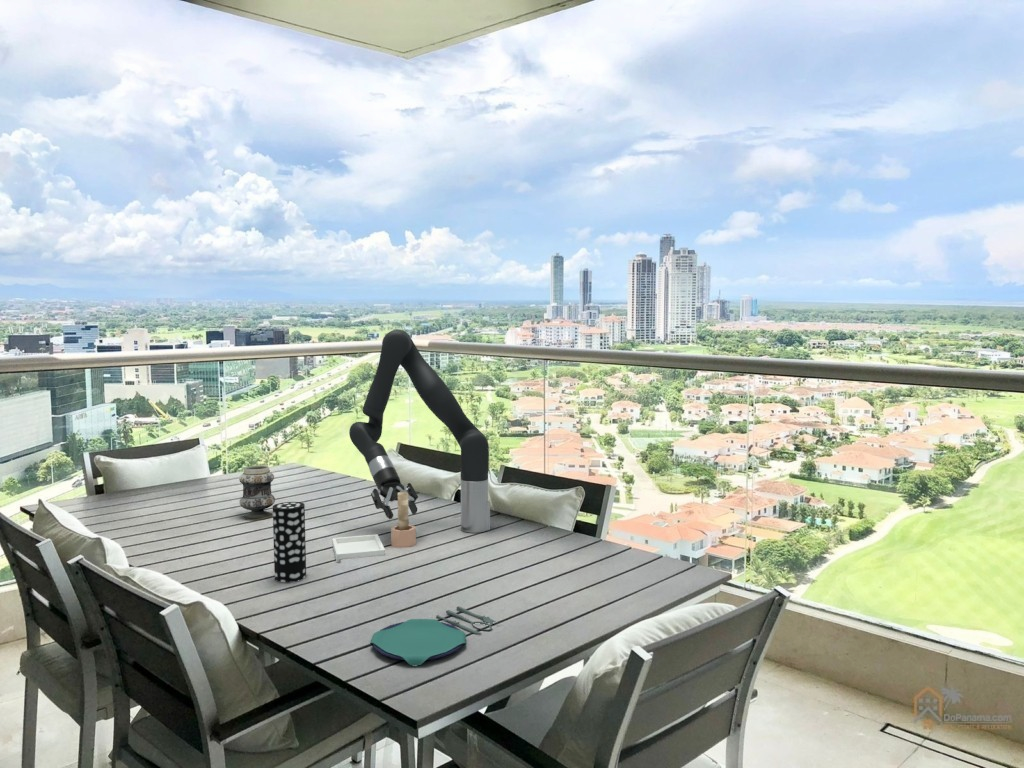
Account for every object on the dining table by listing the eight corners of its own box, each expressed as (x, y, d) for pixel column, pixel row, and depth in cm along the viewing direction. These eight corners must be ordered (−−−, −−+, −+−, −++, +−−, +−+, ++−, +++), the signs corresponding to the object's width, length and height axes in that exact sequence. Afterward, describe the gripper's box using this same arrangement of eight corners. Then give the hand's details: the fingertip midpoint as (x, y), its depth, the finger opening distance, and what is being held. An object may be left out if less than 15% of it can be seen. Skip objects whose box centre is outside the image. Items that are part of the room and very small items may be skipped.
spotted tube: (297, 583, 197) (295, 510, 196) (268, 581, 199) (266, 508, 197) (311, 573, 206) (310, 502, 204) (284, 571, 207) (282, 501, 206)
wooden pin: (407, 541, 232) (407, 491, 230) (409, 544, 229) (408, 493, 227) (397, 542, 231) (396, 492, 229) (399, 545, 228) (398, 494, 226)
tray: (377, 542, 235) (377, 534, 235) (385, 558, 219) (385, 549, 218) (332, 546, 231) (332, 538, 230) (336, 562, 214) (336, 554, 214)
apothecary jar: (275, 511, 273) (273, 463, 272) (275, 519, 262) (274, 469, 261) (240, 513, 270) (238, 465, 268) (239, 522, 258) (237, 471, 257)
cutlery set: (353, 646, 159) (353, 636, 159) (454, 609, 181) (454, 600, 181) (413, 677, 146) (413, 666, 146) (514, 633, 168) (515, 623, 168)
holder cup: (413, 542, 234) (413, 523, 234) (417, 549, 227) (417, 530, 227) (389, 544, 232) (389, 525, 232) (393, 551, 225) (392, 532, 224)
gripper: (368, 469, 230) (387, 512, 222) (407, 463, 239) (427, 504, 231) (360, 483, 234) (379, 526, 226) (398, 477, 243) (418, 518, 236)
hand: (403, 515), depth 229 cm, fingers open, 8 cm apart
